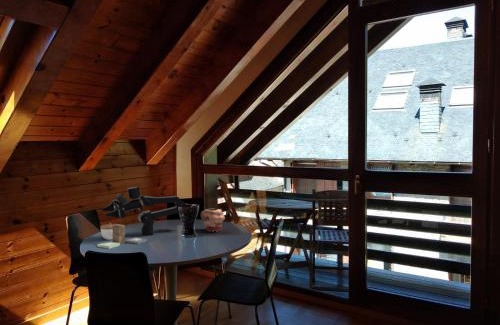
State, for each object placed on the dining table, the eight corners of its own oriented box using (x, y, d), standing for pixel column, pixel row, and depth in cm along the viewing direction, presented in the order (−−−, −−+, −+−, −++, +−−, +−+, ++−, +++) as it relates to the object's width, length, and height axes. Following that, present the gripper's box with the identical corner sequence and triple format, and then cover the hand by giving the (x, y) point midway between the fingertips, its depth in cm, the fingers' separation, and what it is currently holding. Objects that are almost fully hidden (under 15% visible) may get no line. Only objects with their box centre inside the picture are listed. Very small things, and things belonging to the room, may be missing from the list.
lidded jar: (113, 241, 223) (113, 224, 223) (96, 240, 225) (96, 224, 225) (123, 237, 234) (123, 221, 233) (107, 236, 236) (106, 220, 235)
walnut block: (118, 241, 222) (117, 224, 221) (124, 242, 219) (124, 225, 219) (112, 243, 218) (112, 225, 218) (119, 244, 216) (119, 226, 216)
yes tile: (107, 243, 217) (107, 241, 217) (119, 245, 213) (119, 242, 213) (97, 246, 211) (97, 244, 211) (109, 248, 207) (109, 246, 207)
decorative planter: (193, 230, 251) (193, 208, 250) (206, 227, 261) (205, 206, 261) (218, 234, 240) (218, 211, 239) (230, 230, 250) (229, 208, 250)
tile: (135, 239, 227) (135, 237, 227) (147, 241, 223) (147, 238, 223) (125, 242, 220) (125, 240, 220) (137, 244, 216) (137, 241, 216)
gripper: (124, 188, 240) (97, 194, 232) (132, 197, 224) (104, 204, 217) (127, 205, 243) (101, 212, 235) (135, 215, 227) (108, 222, 220)
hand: (103, 212), depth 227 cm, fingers open, 9 cm apart
